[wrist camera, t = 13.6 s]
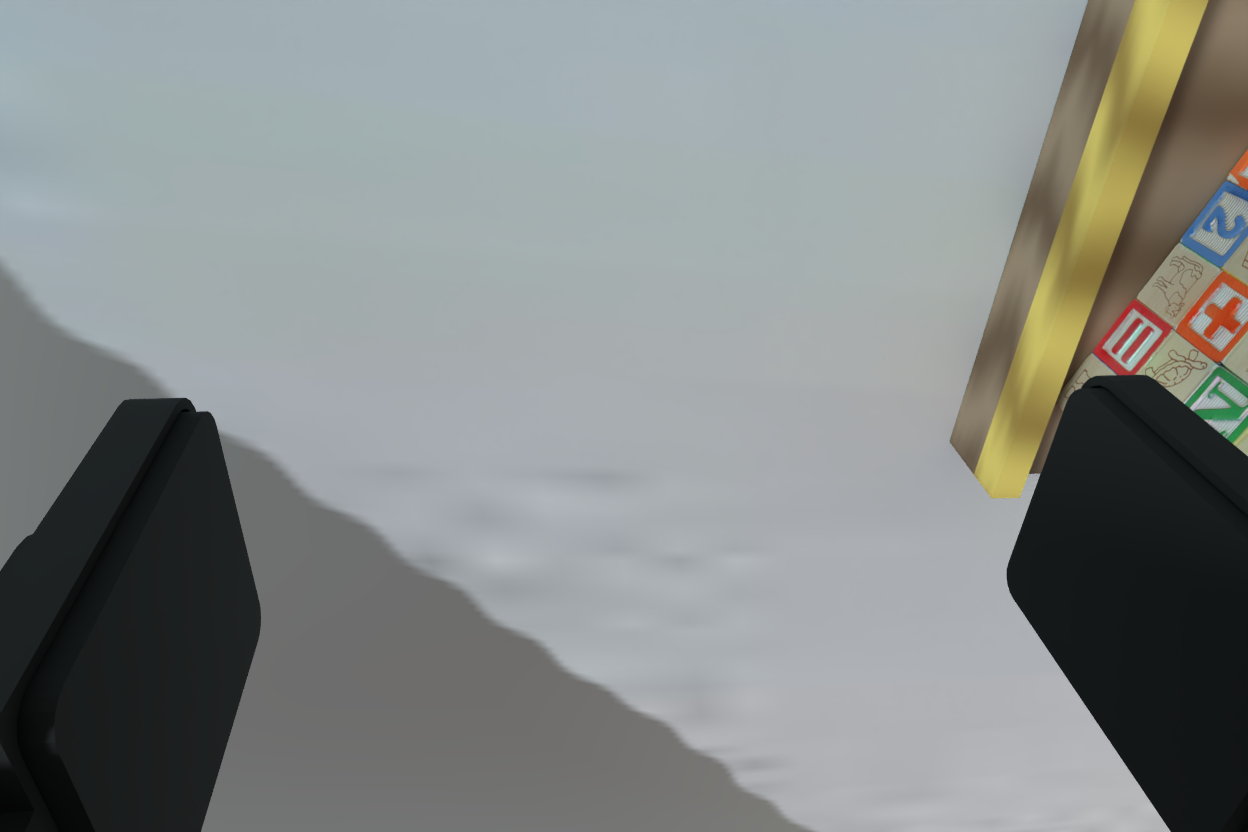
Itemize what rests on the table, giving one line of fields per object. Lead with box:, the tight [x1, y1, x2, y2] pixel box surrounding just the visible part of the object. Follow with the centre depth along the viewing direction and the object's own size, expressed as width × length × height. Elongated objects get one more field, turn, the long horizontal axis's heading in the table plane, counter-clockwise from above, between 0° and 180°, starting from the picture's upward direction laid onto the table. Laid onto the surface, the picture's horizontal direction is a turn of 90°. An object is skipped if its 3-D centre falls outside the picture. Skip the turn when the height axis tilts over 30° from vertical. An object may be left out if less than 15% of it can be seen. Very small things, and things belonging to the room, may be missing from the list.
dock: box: [950, 0, 1248, 498], centre depth 41 cm, size 25×19×5 cm
